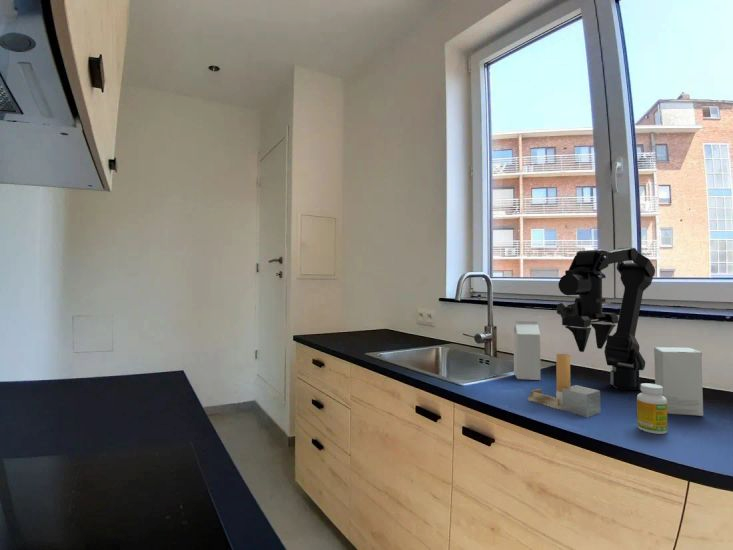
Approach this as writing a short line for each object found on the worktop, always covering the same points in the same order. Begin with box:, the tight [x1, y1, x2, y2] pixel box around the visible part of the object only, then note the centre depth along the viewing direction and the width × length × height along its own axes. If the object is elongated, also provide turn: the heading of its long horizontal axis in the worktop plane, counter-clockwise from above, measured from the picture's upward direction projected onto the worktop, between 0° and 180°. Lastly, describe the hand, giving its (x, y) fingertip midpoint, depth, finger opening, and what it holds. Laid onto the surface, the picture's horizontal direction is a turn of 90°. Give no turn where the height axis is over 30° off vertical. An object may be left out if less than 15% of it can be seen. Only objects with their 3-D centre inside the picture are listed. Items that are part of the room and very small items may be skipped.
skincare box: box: [653, 346, 704, 417], centre depth 99 cm, size 8×7×16 cm
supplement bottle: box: [636, 382, 668, 435], centre depth 87 cm, size 5×5×10 cm
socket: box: [562, 384, 601, 418], centre depth 99 cm, size 6×6×6 cm
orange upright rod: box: [555, 353, 571, 405], centre depth 101 cm, size 8×3×12 cm, turn 32°
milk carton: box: [513, 320, 541, 381], centre depth 134 cm, size 7×7×19 cm
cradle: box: [527, 388, 563, 411], centre depth 106 cm, size 10×6×2 cm, turn 32°
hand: (590, 350), depth 112 cm, fingers open, 9 cm apart
